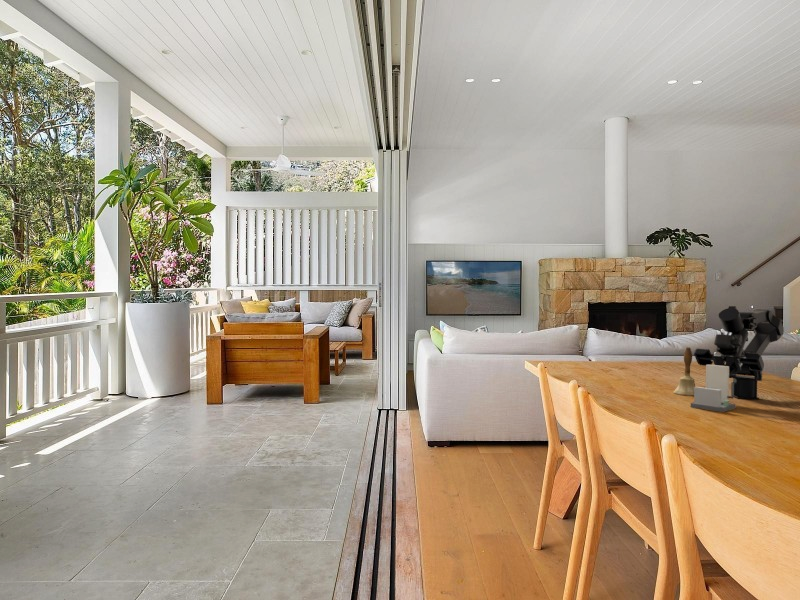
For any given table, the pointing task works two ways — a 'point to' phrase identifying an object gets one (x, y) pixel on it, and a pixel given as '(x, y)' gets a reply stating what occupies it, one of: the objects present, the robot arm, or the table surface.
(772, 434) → the table surface
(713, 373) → the cream block
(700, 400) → the gauge base
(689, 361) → the hand bell
